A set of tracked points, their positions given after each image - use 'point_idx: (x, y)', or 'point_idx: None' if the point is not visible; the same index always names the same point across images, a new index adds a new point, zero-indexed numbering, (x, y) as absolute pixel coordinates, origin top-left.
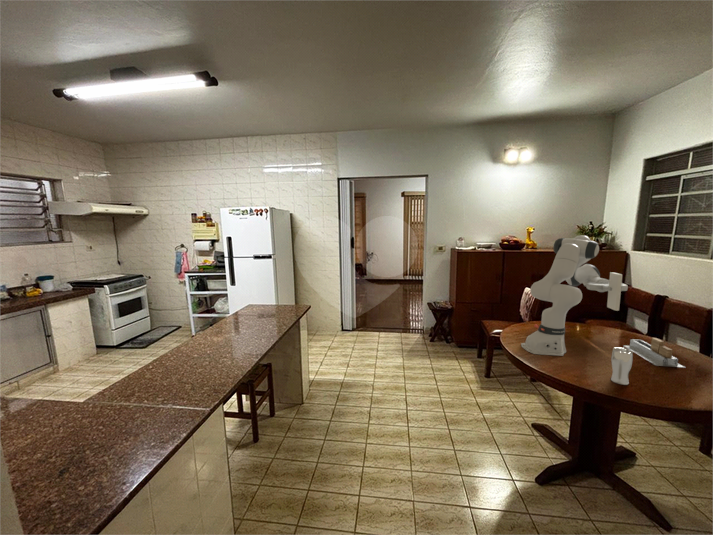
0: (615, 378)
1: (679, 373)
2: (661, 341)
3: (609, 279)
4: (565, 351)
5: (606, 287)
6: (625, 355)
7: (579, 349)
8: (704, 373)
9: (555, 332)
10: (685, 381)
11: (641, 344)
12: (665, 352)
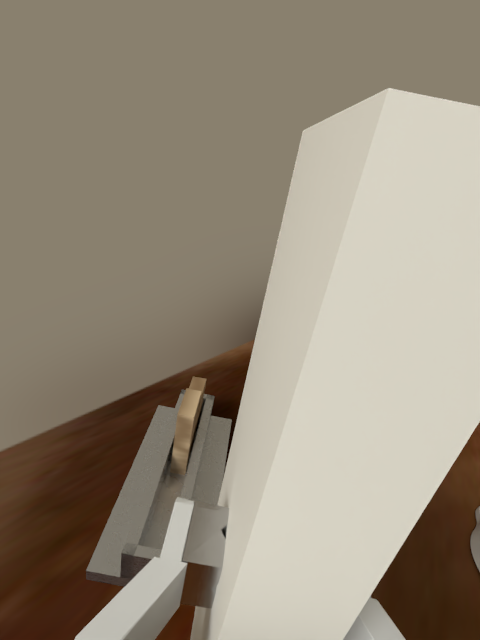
0: None
1: None
2: (194, 390)
3: (415, 520)
4: (474, 533)
5: (389, 629)
6: None
7: (418, 576)
8: (125, 398)
9: None
10: (218, 379)
11: (185, 491)
12: (203, 394)
